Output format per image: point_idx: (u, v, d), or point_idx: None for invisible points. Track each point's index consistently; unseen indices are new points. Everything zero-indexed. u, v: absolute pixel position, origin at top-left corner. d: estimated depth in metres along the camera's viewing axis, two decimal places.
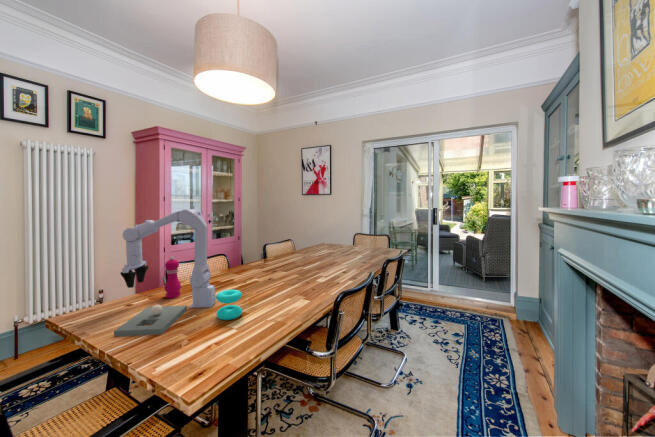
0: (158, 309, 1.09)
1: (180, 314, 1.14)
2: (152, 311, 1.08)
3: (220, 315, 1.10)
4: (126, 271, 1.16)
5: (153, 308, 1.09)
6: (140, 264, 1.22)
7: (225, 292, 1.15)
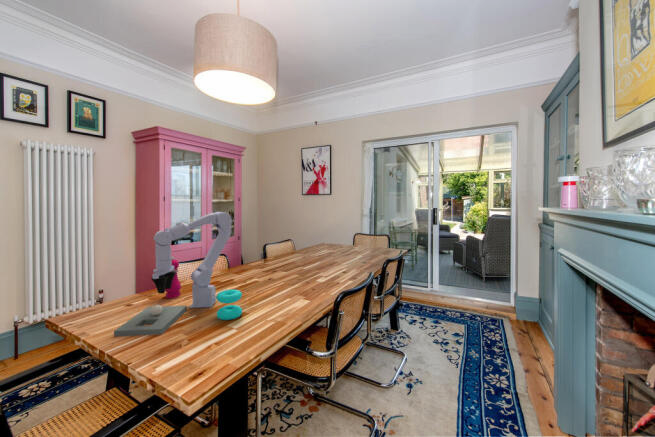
0: (158, 309, 1.09)
1: (180, 314, 1.14)
2: (152, 311, 1.08)
3: (220, 315, 1.10)
4: (156, 277, 1.09)
5: (153, 308, 1.09)
6: (170, 269, 1.16)
7: (225, 292, 1.15)
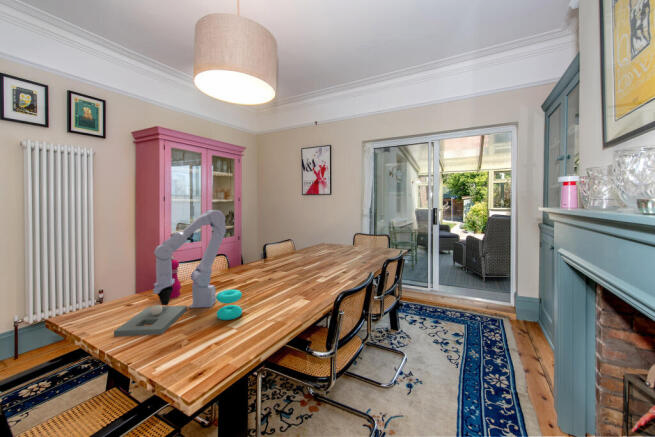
0: (158, 309, 1.09)
1: (180, 314, 1.14)
2: (152, 311, 1.08)
3: (220, 315, 1.10)
4: (157, 292, 1.10)
5: (153, 308, 1.09)
6: (170, 283, 1.16)
7: (225, 292, 1.15)
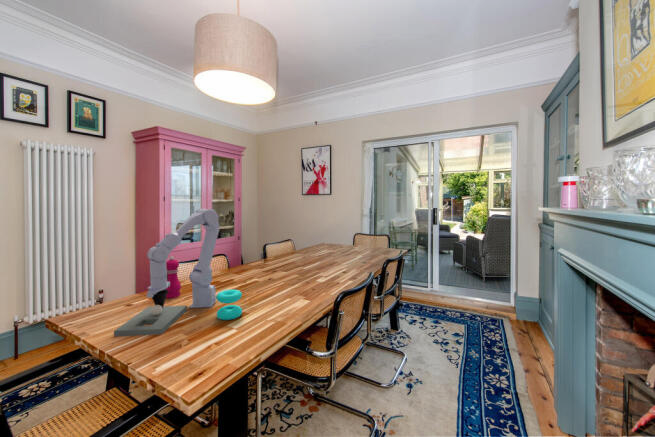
0: (158, 309, 1.09)
1: (180, 314, 1.14)
2: (152, 311, 1.08)
3: (220, 315, 1.10)
4: (151, 295, 1.05)
5: (153, 308, 1.09)
6: (165, 286, 1.12)
7: (225, 292, 1.15)
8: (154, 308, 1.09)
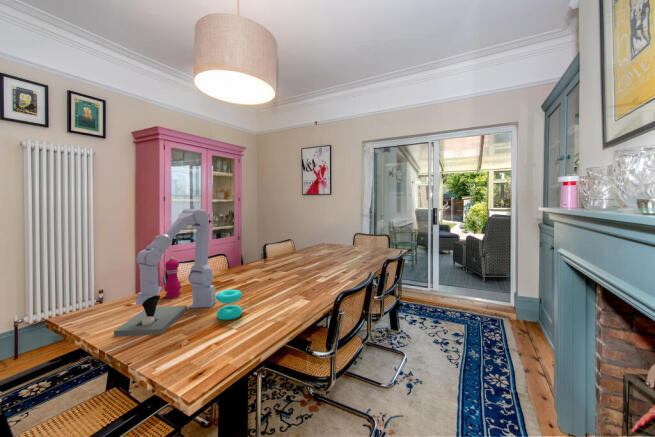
0: None
1: (180, 314, 1.14)
2: None
3: (220, 315, 1.10)
4: (140, 302, 0.98)
5: None
6: (156, 292, 1.05)
7: (225, 292, 1.15)
8: None
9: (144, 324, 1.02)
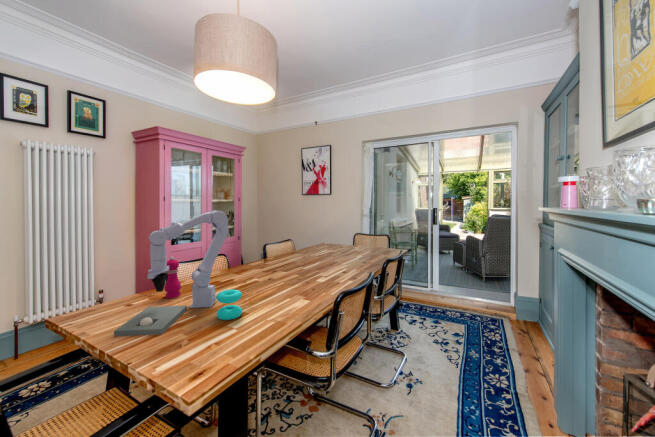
0: None
1: (180, 314, 1.14)
2: None
3: (220, 315, 1.10)
4: (152, 277, 1.09)
5: None
6: (165, 269, 1.16)
7: (225, 292, 1.15)
8: None
9: None
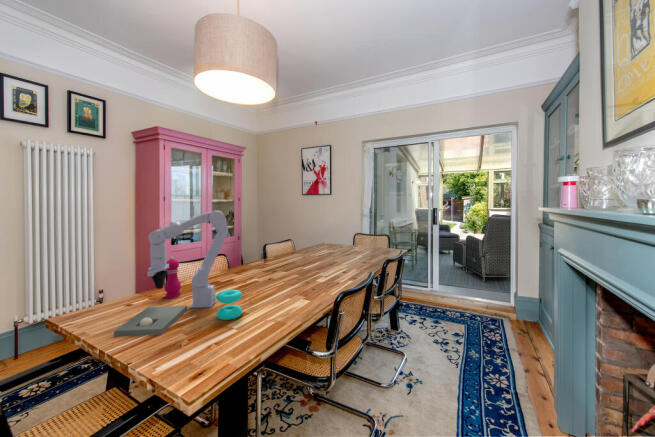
0: None
1: (180, 314, 1.14)
2: None
3: (220, 315, 1.10)
4: (151, 274, 1.13)
5: None
6: (164, 267, 1.19)
7: (225, 292, 1.15)
8: None
9: None
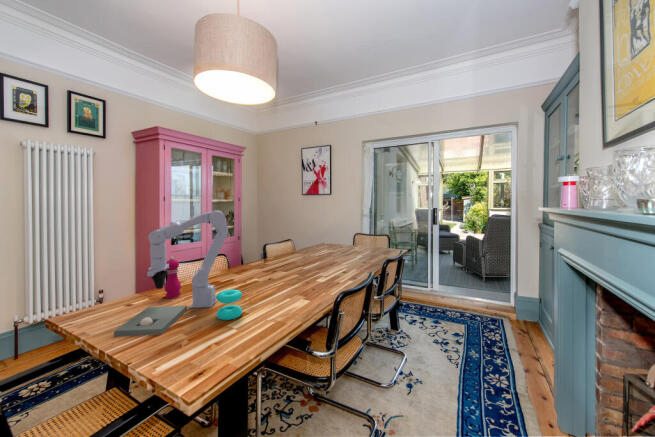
0: None
1: (180, 314, 1.14)
2: None
3: (220, 315, 1.10)
4: (151, 274, 1.13)
5: None
6: (164, 267, 1.19)
7: (225, 292, 1.15)
8: None
9: None
